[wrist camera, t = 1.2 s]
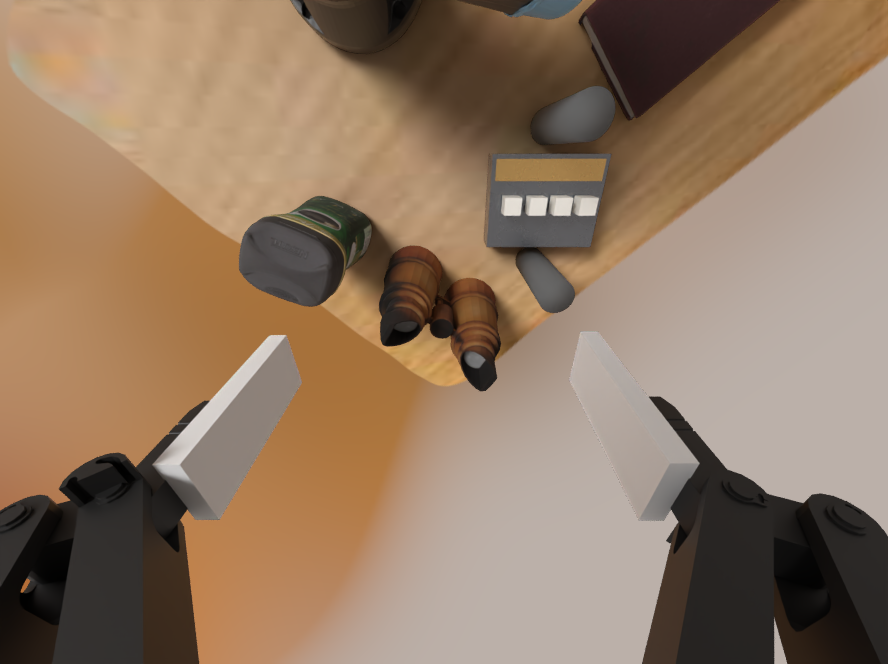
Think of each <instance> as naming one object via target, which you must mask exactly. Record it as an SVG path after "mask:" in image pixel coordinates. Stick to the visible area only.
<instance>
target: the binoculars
mask: <svg viewBox="0 0 888 664" xmlns="http://www.w3.org/2000/svg"><path fill="white" fill-rule="evenodd" d="M441 279H442V268H441V264H440V262H439V260H438V259H437V257H436V256H435V255H434V254H433V253H432V252H431V251H429V250H428V249H426V248H423V247H420V246H407V247H403V248H401V249H400V250H398V251H397V252H395V254H394V255H393V256H392V258H391V259H390V262H389V266H388V270H387V271H386V275H385V278H384V292H383V294H382V296H381V299H380V302H379V311H380V313H381V316H382V319H381V322H380V335H381V342H382V344H383V345H384V346H397V345H401V344H404V343H407V342H409V341H411V340H412V339H414V338H415V337H416V336H417V335H418V334H419V333H420V332H421V331H422V329H423V327H424V326H425V325H426V324H427V323H429V324H430V331H431V333H432V335H433V336H435V337H437V338H442V339H443V338H447V337H449V336H450V335H451V349H452V352H453V354H454V355H455V356H456V358H457V359H458V362H459V364H460V365H461V369H462V371H463V373H464V375H465V377H466V378H467V380H468V381H469V382H470V383H471V384H472V385H473V386H474V387H475V388H476V389H478V390H479V391H486V390H487V389H488V388H489V387H490V386H491V385H492V384H493V383H494V382H495V380H496V379H497V374H496V368H495V362H494V361H495V357H496V356H497V354H498V352H499V350H500V345H501V342H500V337H499V334H498V328H497V320H498V312H497V308H496V305H495V297H494V293H493V291H492V289H491V288H490V286H488V285H487V284H486V283H485V282H484V281H481V280H478V279H475V278H465V279H461V280H458V281H457V282H455V283H453V284H452V285H451V286H450V287H449V288H448V289H447V291H446V294H445V296H444V298H443V297H442V296H440V295H438V293H439V284H440V281H441ZM434 300H435V305H436V306H434V307H433V309H432V306H433V303H434Z"/></svg>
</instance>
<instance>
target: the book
mask: <svg viewBox="0 0 888 664" xmlns="http://www.w3.org/2000/svg"><path fill="white" fill-rule="evenodd" d="M778 1H780V0H596V1H595V2H594V3H593V4H592V5H591V6H590V7H589V8H588V9H587V10H586V11H585V12H584V13H583V15H582V16H581V18H580V19H579V24H580V25H581V24H582V23H583V25H584V27H585V29H586V31H587V33H588V35H589V37H590V39H591V41H592V50H593V52H594V54H595V56H596V58H597V60H598V62H599V64H600V66H601V69H602V71H603V73H604V74H605V76H606V79H607V81H608V83H609V85H610V87H611V88H612V90H613V92H614V95H615V97H616V99H617V101H618V103H619V105H620V107H621V109H622V110H623V112H624V114H625V116H626V118H627V119H628V120H632V119H633V117H634V116H635V117H636V118H638V117H640V116H641V115H642V114H644V113H645V112H646V111H647V110H648V109H649V108H650V107H652V106H653V105H654V104H655V103H657V102H658V101H659V100H660V99H661V98H663V97H664V96H665V95H666V94H667V93H669V92H670V91H671V90H672V89H673V88H675V87H676V86H677V85H678V84H679V83H681V82H682V81H683V80H684V79H685V78H687V77H688V76H689V75H690V74H692V73H693V72H694V71H695V70H697V69H698V68H699V67H700V66H701V65H703V64H704V63H705V62H706V61H707V60H708V59H710V58H711V57H712V56H713V55H714V54H716V53H717V52H718V51H719V50H720V49H721V48H723V47H724V46H725V45H726V44H727V43H729V42H730V41H731V40H732V39H734V38H735V37H736V36H737V35H739V34H740V33H741V32H742V31H744V30H745V29H746V28H747V27H748V26H750V25H751V24H752V23H753V22H755V21H756V20H757V19H758V18H759V17H761V16H762V15H763V14H764V13H765V12H767V11H768V10H769V9H770V8H771V7H772V6H774V5H775V4H776V3H777V2H778Z"/></svg>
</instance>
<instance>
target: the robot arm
mask: <svg viewBox="0 0 888 664" xmlns="http://www.w3.org/2000/svg"><path fill="white" fill-rule="evenodd" d="M290 1H291V2H292V4H293V5H294V7H295V9H296V10H297V11H298V13H299V14H300V15H301V17H302V18H303V19H304V20H305V21H306V22H307V24H308V25H309V26H310V27H311V28H312V29H313V30H315V31H316V32H317V33H318V34H319V35H320V36H321V37H322V38H324V39H325V40H326V41H328V42H329V43H331V44H332V45H334V46H336V47H338V48H340V49H342V50H345V51H348V52H352V53H360V54H365V53H373V52H377V51H380V50H383V49H385V48H387V47H388V46H390V45H392V44H393V43H394V42H396V41H397V40H398V39H399V38H400V37H401V36H402V35H403V34H404V33H405V32H406V30H407V29H408V28H409V26H410V25H411V23H412V21H413V20H414V18H415V16H416V14H417V11H418V9H419V7H420V4H421V1H422V0H290ZM458 1H461V2H465V3H469V4H473V5H477V6H481V7H485V8H489V9H492V10H496V11H500V12H504V14H505V15H507V16H509V17H512V16H514V17H519V16H522V15H525V16H531V17H536V18H542V19H555V18H559V17H561V16H564V15H566V14H567V13H569V12H570V11H571V10H573V9H574V8H575V7H576V6H577V5H578V4H579V3H580V2H581V1H582V0H458ZM569 381H570V383H571V385H572V387H573V389H574V391H575V393H576V395H577V397H578V399H579V401H580V403H581V405H582V407H583V409H584V411H585V413H586V415H587V417H588V419H589V421H590V423H591V425H592V427H593V429H594V431H595V433H596V435H597V437H598V439H599V441H600V444H601V445H602V448H603V449H604V452H605V454H606V456H607V458H608V459H609V461H610V464H611V466H612V468H613V470H614V472H615V474H616V476H617V478H618V480H619V482H620V484H621V486H622V488H623V490H624V492H625V494H626V496H627V498H628V500H629V502H630V504H631V506H632V508H633V510H634V512H635V514H636V516H637V518H638V520H642V521H643V520H646V521H647V520H648V521H649V520H652V521H653V520H654V521H655V520H656V521H659V520H660V521H661V520H662V521H664V520H665V518H666V516H667V515H668V513H669V512H670V510H672V512H673V513H674V515H675V517H676V518H677V520H678V524H677V525H676V527H675V528H674V530H673V531H672V533H671V534H670V536H669V537H668V539H667V540H666V541H667V542H669V543H671V546H670V550H669V554H668V558H667V563H666V567H665V571H664V575H663V579H662V583H661V587H660V591H659V596H658V600H657V604H656V608H655V613H654V616H653V620H652V625H651V629H650V633H649V637H648V641H647V645H646V649H645V654H644V658H643V662H642V664H774V618H775V621H776V625H777V628H778V632H779V636H780V639H781V643H782V646H783V650H784V653H785V657H786V660H787V664H888V536H887V534H886V533H885V531H884V530H883V529H882V528H881V527H880V525H879V524H878V523H877V522H876V521H875V520H874V519H872V518H871V517H870V516H869V515H868V514H866V513H865V512H864V511H862V510H861V509H859V508H857V507H856V506H854V505H852V504H851V503H849V502H847V501H844V500H842V499H839V498H837V497H834V496H831V495H826V494H814V495H811V496H810V497H809V498H808V499H807V500H806V501H805V502H804V503H800V502H796V501H792V500H789V499H785V498H781V497H777V496H773V495H769V494H766V492H765V491H764V490H763V489H762V488H761V487H759V486H758V485H757V484H756V483H755V482H754V481H752V480H750V479H748V478H747V477H745V476H743V475H741V474H738V473H735V472H732V471H730V470H727V469H726V468H725V466H724V465H723V464H722V463H721V462H720V460H719V459H718V458H717V457H716V456H715V454H714V453H713V452H712V451H711V450H710V448H709V447H708V446H707V445H706V444H705V443H704V441H703V440H702V439H701V438H700V437H699V436H698V434H697V433H696V432H695V431H693V428H692V427H691V426H690V425H689V423H688V422H687V421H685V419H684V418H683V416H682V415H681V414H680V413H679V412H678V410H677V409H676V408H675V407H674V406H673V405H671V404H670V403H668V402H667V401H666V400H664V399H663V398H661V397H648V396H647V394H646V393H645V392H644V390H643V389H642V388H641V387H640V385H639V384H638V383H637V381H636V380H635V379H634V377H633V376H632V375H631V374H630V372H629V371H628V370H627V368H626V367H625V366H624V364H623V363H622V362H621V361H620V359H619V358H618V357H617V355H616V354H615V353H614V351H613V350H612V349H611V348H610V346H609V345H608V344H607V342H606V341H605V340H604V338H603V337H602V336H601V335H600V333H599V332H597V331H596V332H595V331H589V332H580V336H579V340H578V344H577V348H576V353H575V357H574V361H573V365H572V370H571V374H570V378H569ZM301 383H302V381H301V378H300V375H299V372H298V369H297V366H296V363H295V360H294V357H293V354H292V351H291V348H290V345H289V342H288V339H287V336H286V335H272V336H271V335H270V336H269V337H268V338H267V339H266V340H265V341H264V342H263V343H262V344H261V346H260V347H259V348H258V349H257V350H256V351H255V352H254V353H253V354H252V356H251V357H250V358H249V359H248V360H247V361H246V362H245V363H244V364H243V365H242V367H241V368H240V369H239V370H238V371H237V372H236V373H235V374H234V375H233V376H232V377H231V378H230V380H229V381H228V382H227V383H226V384H225V385H224V386H223V387H222V388H221V389H220V391H219V392H218V393H217V394H216V395H215V396H214V397H213V398H212V399H211V400H210V401H204V402H202V403H200V404H199V405H197V406H196V407H195V408H193V409H192V410H190V411H189V412H188V413H187V414H186V415H185V416H184V417H183V418H182V419H181V420H180V421H179V422H178V425H176V426H175V427H174V428H173V429H172V430H171V431H170V432H169V435H166V436H165V437H164V438H163V439H162V440H161V441H160V442H159V444H157V446H156V447H155V448H154V449H153V450H152V451H151V452H150V453H149V454H148V455H147V456H146V457H145V458H144V459H143V460H142V461H141V462H140V463H139V465H137V467H135V466H134V465H133V464H132V463H131V461H130V460H129V459H128V458H127V457H126V456H125V455H124V454H121V453H110V454H106V455H103V456H100V457H97V458H95V459H93V460H91V461H89V462H87V463H85V464H83V465H82V466H80V467H79V468H77V469H76V470H74V471H73V472H72V473H71V474H70V475H69V476H68V477H67V478H66V479H65V480H64V481H63V482H62V484H61V486H60V488H59V490H60V491H61V492H62V493H63V494H65V495H66V496H67V497H68V498H69V499H70V500H71V501H67V502H64V503H60V504H56V503H55V502H54V501H53V500H52V499H50V498H49V497H48V496H45V495H36V496H31V497H27V498H25V499H22V500H20V501H18V502H15V503H13V504H11V505H9V506H8V507H5V508H4V509H2V510H1V511H0V664H199V658H198V649H197V640H196V632H195V622H194V613H193V604H192V595H191V586H190V577H189V568H188V560H187V551H186V541H185V532H184V526H183V524H182V522H181V521H180V519H181V518H182V516H183V515H184V513H185V512H186V511H187V509H188V511H189V512H190V513H191V514H192V516H193V517H194V518H195V519H196V520H220V518H221V516H222V515H223V513H224V511H225V510H226V508H227V506H228V505H229V503H230V501H231V500H232V498H233V496H234V495H235V493H236V491H237V490H238V488H239V486H240V485H241V483H242V481H243V480H244V478H245V476H246V475H247V473H248V471H249V470H250V468H251V466H252V465H253V463H254V461H255V459H256V458H257V456H258V455H259V453H260V451H261V450H262V448H263V446H264V445H265V443H266V441H267V440H268V438H269V436H270V435H271V433H272V431H273V430H274V428H275V426H276V425H277V423H278V421H279V420H280V418H281V417H282V415H283V413H284V412H285V410H286V408H287V407H288V405H289V403H290V402H291V400H292V398H293V397H294V395H295V393H296V392H297V390H298V388H299V387H300V385H301ZM27 578H28V579H29V580H31V581H30V583H29V584H28V586H27V588H26V590H25V591H24V592H23V593H21V589H22V586H23V584H24V582H25V580H26V579H27Z"/></svg>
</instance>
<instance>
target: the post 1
mask: <svg viewBox="0 0 888 664" xmlns="http://www.w3.org/2000/svg"><path fill="white" fill-rule="evenodd" d="M614 115H615V101H614V98H613V96H612V94H611V93H610V91H609V90H607V89H606V88H604V87H601V86H592V87H589V88H586V89H584V90H582V91H580V92H577V93H575V94H573V95H571V96H569V97H566V98H564V99H562V100H560V101H557V102H555V103H553V104H551V105H548V106H546V107H544V108H542V109H540V110H539V111H538V112H537V113H536V114H535V116H534V117H533V119H532V122H531V135H532V137H533V139H534V140H535V141H536V142H537V143H539V144H542V145H548V144H563V143H578V142H590V141H594V140H596V139H598V138H599V137H601V136H602V135H603V134H604V133H605V132H606V131H607V130H608V128H609V127H610V125H611V123H612V121H613V118H614Z"/></svg>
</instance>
